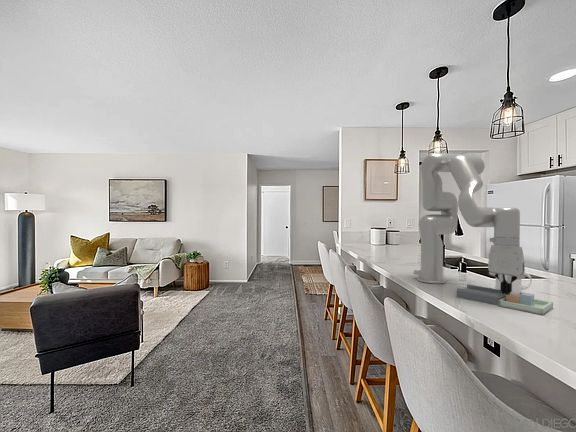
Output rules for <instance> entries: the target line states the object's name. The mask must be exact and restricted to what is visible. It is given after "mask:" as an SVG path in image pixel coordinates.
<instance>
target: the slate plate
mask: <svg viewBox="0 0 576 432" xmlns="http://www.w3.org/2000/svg"><path fill="white" fill-rule="evenodd" d="M506 295H507V294H502V291H501V290H499V289H496V288H492V287H487V286H481V285H475V284H474V285H473V284H469V283H467V284H466V287H463V288H462V287H456V298H459V299H460V298H461V299H465V300H471V301H476V302H479V301H480V303H484V302H485V304H489V305H495V306H498V300H500V299H502V298H504V297H506Z"/></svg>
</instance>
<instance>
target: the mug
mask: <svg viewBox="0 0 576 432" xmlns="http://www.w3.org/2000/svg"><path fill="white" fill-rule="evenodd" d="M524 276H525V277H528V278H529V284H528V285H527V284H526V285H523V284H522V279H517V280H515V281H514V282H512V292H510V293H512V294H518V295H520V294H522V293H521V292H522V291H523V290H524V291H525V290H527V289H529V288H530V287H531V285H532V276H531V275H530V273H528V272H527V271H526V270H525V271H524ZM507 278H508V275H505V279H506V281H507ZM495 289H499V290H501V282H500V281H499V280H498V279H497V278H496V277H495Z"/></svg>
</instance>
